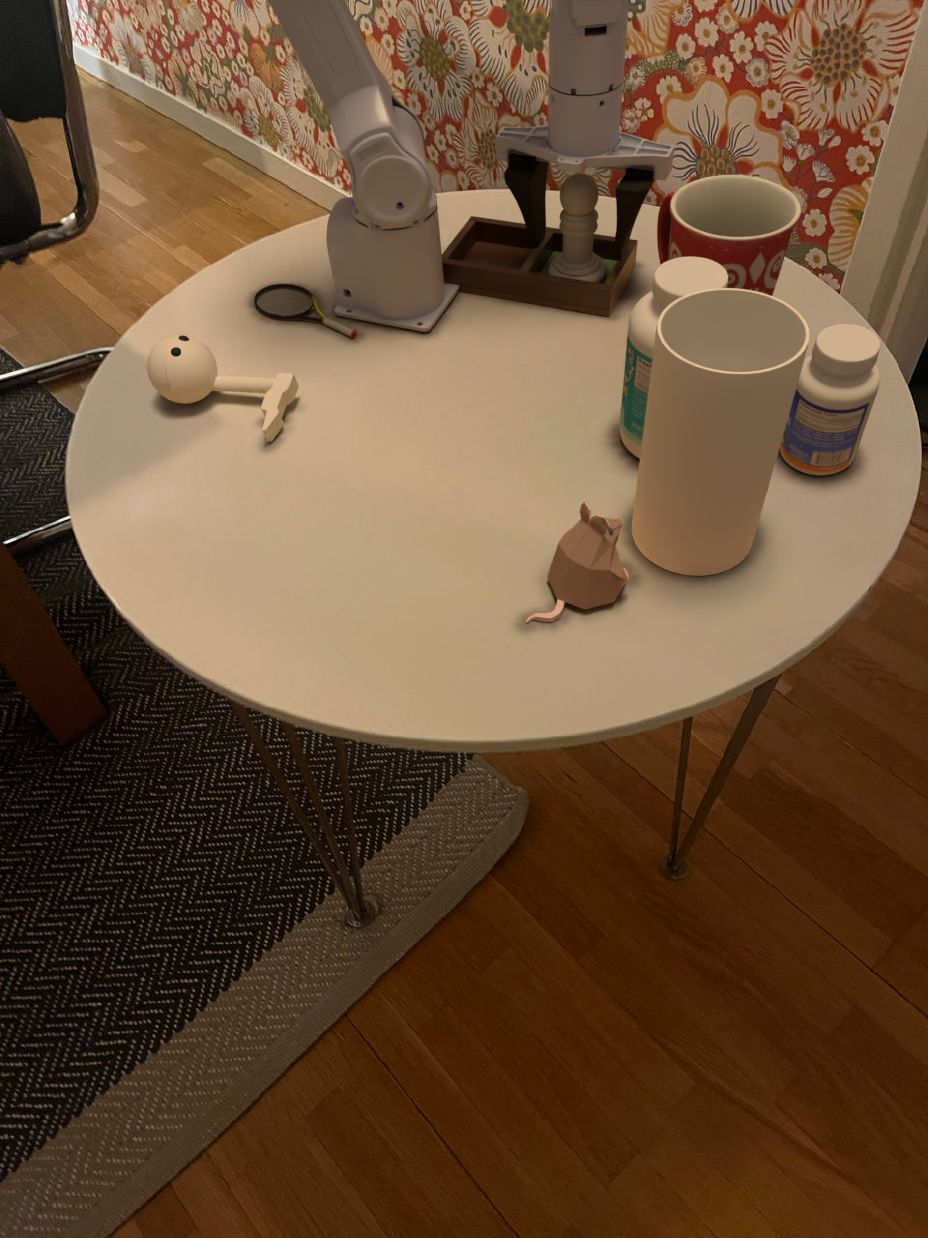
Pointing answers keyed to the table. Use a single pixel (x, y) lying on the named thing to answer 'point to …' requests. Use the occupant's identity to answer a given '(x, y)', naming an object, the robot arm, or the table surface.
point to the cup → (714, 425)
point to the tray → (531, 267)
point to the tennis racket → (301, 315)
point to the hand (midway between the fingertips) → (578, 248)
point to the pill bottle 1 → (667, 287)
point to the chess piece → (578, 231)
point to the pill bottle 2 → (832, 400)
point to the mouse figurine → (586, 565)
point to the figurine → (213, 379)
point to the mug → (730, 227)
